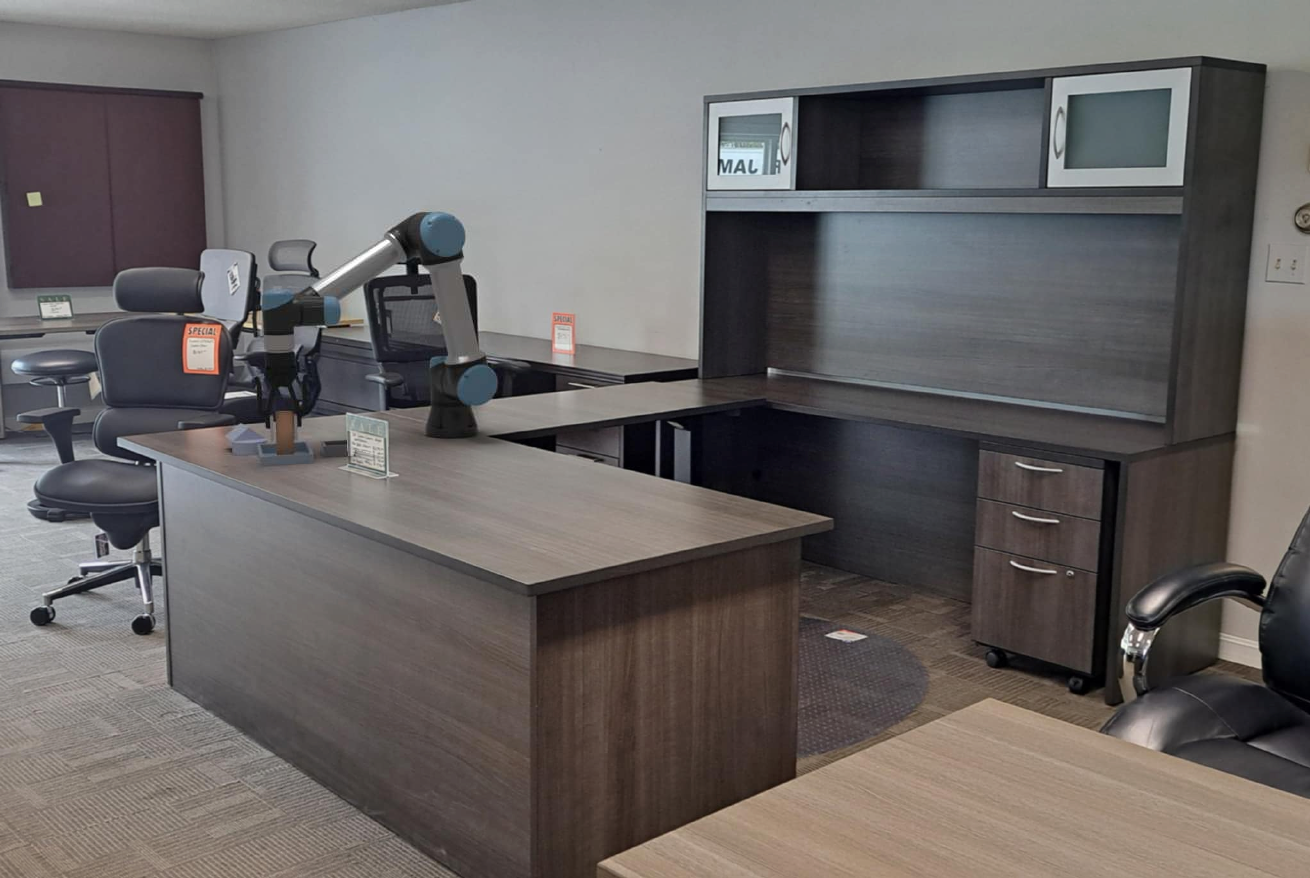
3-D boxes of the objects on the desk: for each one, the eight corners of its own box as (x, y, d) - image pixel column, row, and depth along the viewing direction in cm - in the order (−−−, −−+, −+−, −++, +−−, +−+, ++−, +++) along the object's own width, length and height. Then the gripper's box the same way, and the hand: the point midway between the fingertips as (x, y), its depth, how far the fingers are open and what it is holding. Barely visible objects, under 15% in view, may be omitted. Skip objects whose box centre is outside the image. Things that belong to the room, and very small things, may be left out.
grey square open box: (351, 452, 328) (351, 439, 328) (355, 458, 321) (354, 444, 320) (321, 454, 325) (320, 441, 325) (324, 460, 318) (323, 446, 317)
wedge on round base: (225, 448, 333) (237, 456, 322) (223, 424, 332) (235, 431, 321) (258, 445, 338) (271, 453, 327) (257, 421, 337) (270, 428, 326)
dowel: (293, 456, 320) (292, 410, 318) (294, 459, 316) (293, 413, 314) (276, 456, 319) (274, 411, 317) (277, 459, 315) (275, 413, 313)
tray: (308, 452, 328) (307, 441, 328) (314, 465, 311) (313, 453, 311) (257, 455, 324) (256, 444, 323) (260, 468, 307) (260, 456, 306)
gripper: (315, 348, 319) (319, 435, 323) (241, 350, 313) (246, 439, 317) (317, 351, 312) (321, 440, 316) (242, 353, 306) (248, 444, 310)
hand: (284, 440), depth 317 cm, fingers open, 5 cm apart
